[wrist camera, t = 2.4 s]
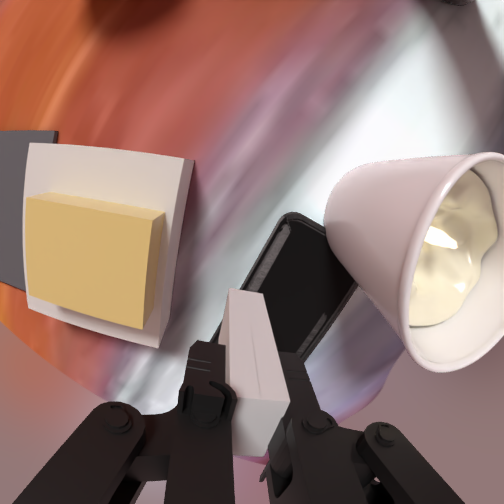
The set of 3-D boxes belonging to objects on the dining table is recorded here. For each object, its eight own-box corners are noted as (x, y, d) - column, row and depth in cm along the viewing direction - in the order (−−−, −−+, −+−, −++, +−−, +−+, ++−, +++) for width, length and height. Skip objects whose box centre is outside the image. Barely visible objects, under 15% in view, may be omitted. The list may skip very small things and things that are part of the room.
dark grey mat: (58, 131, 16) (54, 130, 16) (49, 296, 20) (46, 298, 20) (-22, 132, 15) (-26, 132, 14) (-25, 266, 19) (-28, 268, 18)
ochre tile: (165, 211, 15) (152, 220, 12) (153, 308, 16) (142, 329, 14) (49, 191, 14) (26, 197, 12) (48, 280, 16) (29, 294, 13)
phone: (195, 370, 22) (288, 207, 18) (196, 362, 23) (285, 205, 20) (276, 398, 23) (376, 259, 20) (275, 390, 24) (370, 254, 21)
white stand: (194, 160, 18) (184, 158, 14) (169, 318, 21) (158, 348, 17) (60, 144, 17) (29, 142, 13) (53, 287, 20) (28, 308, 16)
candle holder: (433, 173, 19) (552, 194, 8) (405, 285, 22) (497, 363, 10) (326, 137, 18) (440, 109, 6) (299, 271, 21) (364, 382, 9)
